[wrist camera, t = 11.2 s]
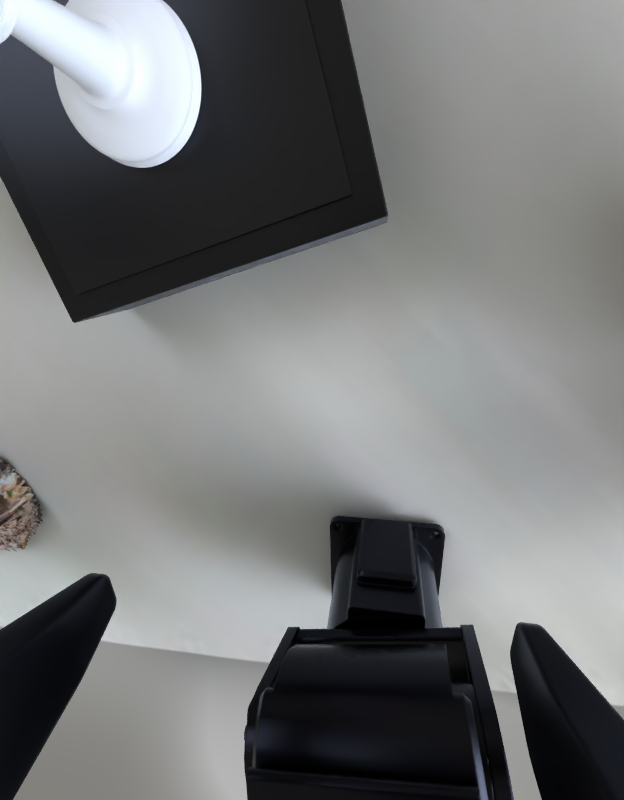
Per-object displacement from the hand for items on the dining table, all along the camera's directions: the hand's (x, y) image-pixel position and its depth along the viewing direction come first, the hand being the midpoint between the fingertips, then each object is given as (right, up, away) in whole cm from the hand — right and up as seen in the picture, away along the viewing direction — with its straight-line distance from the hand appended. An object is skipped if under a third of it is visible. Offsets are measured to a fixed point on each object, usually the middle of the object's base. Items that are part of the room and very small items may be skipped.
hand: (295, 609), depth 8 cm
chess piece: (-6, +15, +5) cm, 17 cm away
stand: (-5, +17, +8) cm, 20 cm away
